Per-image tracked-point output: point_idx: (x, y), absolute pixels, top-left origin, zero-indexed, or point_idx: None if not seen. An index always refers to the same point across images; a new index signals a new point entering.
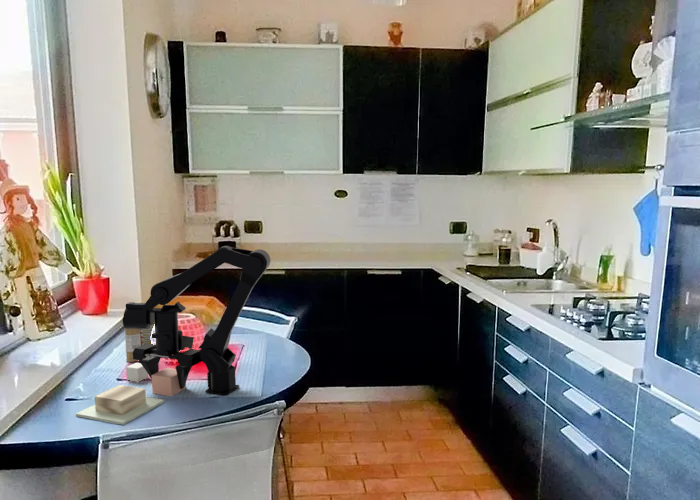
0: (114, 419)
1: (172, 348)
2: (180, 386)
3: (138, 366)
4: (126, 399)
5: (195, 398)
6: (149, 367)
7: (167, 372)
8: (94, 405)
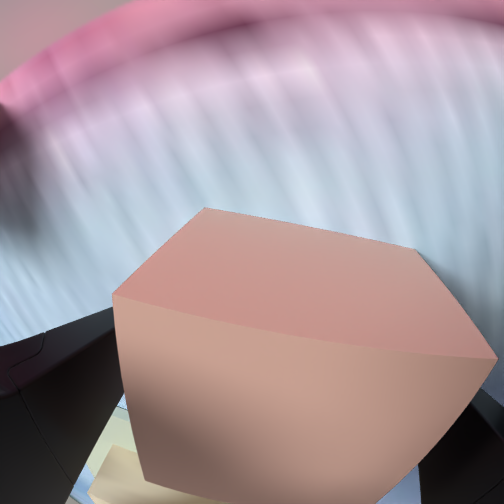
0: None
1: None
2: None
3: None
4: None
5: (491, 389)
6: (66, 490)
7: (261, 454)
8: (93, 469)
